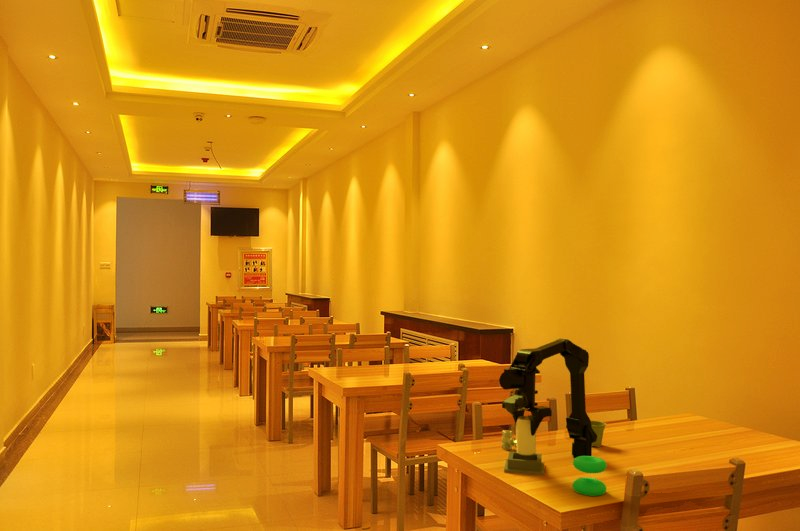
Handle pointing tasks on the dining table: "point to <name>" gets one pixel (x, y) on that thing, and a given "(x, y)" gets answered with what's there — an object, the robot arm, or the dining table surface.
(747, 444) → the dining table surface
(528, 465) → the socket holder
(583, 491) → the donuts
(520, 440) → the can
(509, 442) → the valve
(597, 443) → the plant pot
